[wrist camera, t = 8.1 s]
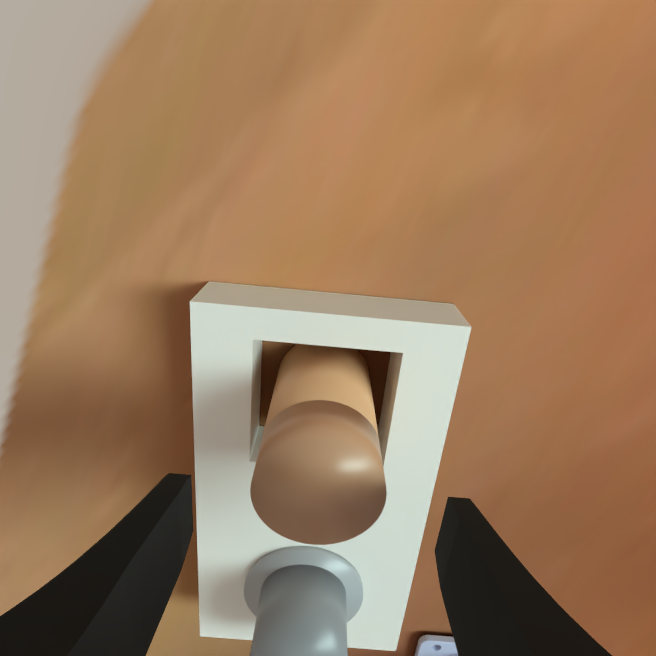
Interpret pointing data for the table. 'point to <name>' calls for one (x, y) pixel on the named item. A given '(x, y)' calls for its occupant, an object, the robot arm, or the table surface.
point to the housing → (242, 450)
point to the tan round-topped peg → (320, 449)
